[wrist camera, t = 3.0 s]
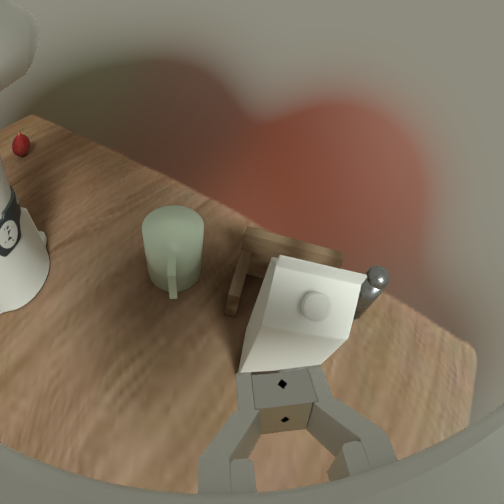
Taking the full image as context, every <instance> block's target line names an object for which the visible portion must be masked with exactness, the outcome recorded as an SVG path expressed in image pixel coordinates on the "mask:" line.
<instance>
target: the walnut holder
mask: <svg viewBox="0 0 504 504" xmlns="http://www.w3.org/2000/svg"><path fill="white" fill-rule="evenodd" d="M280 255H284V256H288V257H292V258H296V259H301V260H305V261H309V262H314V263H318V264H322V265H326V266H331V267H335V268H339V269H340V267H341V265H342V264H343V262H344V253H342V252H339V251H335V250H332V249H328V248H325V247H321V246H317V245H313V244H310V243H307V242H303V241H299V240H296V239H292V238H288V237H285V236H281V235H277V234H273V233H270V232H266V231H262V230H258V229H254V228H251V227H247V229H246V232H245V235H244V240H243V244H242V249H241V252H240V256H239V259H238V262H237V266H236V269H235V272H234V276H233V279H232V283H231V286H230V289H229V293H228V297H227V302H226V307H225V312H224V314H226V315H230V316H234V317H235V315H236V311H237V307H238V303H239V300H240V296H241V292H242V288H243V284H244V280H245V277H246V274H248V275H252V276H256V277H260V278H265V275H266V272H267V269H268V266H269V263H270V261H271V257H274V258H279V256H280Z"/></svg>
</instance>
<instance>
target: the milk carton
mask: <svg viewBox="0 0 504 504" xmlns="http://www.w3.org/2000/svg"><path fill="white" fill-rule="evenodd" d="M366 278H367V275H365V274H360V273H356V272H352V271H348V270H344V269H339V268H335V267H331V266H326V265H322V264H318V263H314V262H309V261H305V260H301V259H296V258H292V257H288V256H284V255H280V256H279V258H274V257H271V261H270V263H269V266H268V269H267V272H266V275H265V278H264V280H263V283H262V286H261V289H260V292H259V295H258V297H257V300H256V303H255V306H254V309H253V311H252V314H251V317H250V320H249V322H248V325H247V328H246V332H245V337H244V343H243V348H242V354H241V359H240V365H239V370H238V373H244V372H250V373H251V372H261V371H275V370H281V369H289V368H297V367H304V366H305V367H306V366H313V365H319V364H321V363H323V362H324V361H325V360H326V359H327V358H328V357H329V356H330V355H331V354H332V353H333V352H334V351H336V350H337V349H338V348H339V347H340V346H341V345H342V344H343V343H344V342H345V341H346V340H347V339H348V337H349V333H350V329H351V326H352V322H353V318H354V314H355V310H356V306H357V302H358V297H359V293H360V289H361V285H362V283H363V282H364V281H365V279H366Z"/></svg>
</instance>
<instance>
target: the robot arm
mask: <svg viewBox="0 0 504 504" xmlns="http://www.w3.org/2000/svg"><path fill="white" fill-rule="evenodd" d="M39 40H40V32H39V26H38V23H37V21H36V19H35V17H34V16H33V14H31V12H29V11H28V10H26V9H24V8H22V7H20V6H18V5H16V4H14V3H13V2H12V1H11V0H0V91H1V90H3V89H4V88H6V87H7V86H9V85H10V84H12V83H13V82H15V81H16V80H18V79H19V78H21V77H22V76H24V75H25V74H26V72H27V71H28V70H29V68H30V66H31V65H32V63H33V61H34V59H35V56H36V53H37V50H38V45H39ZM46 242H47V237H46V235H45V233H44V232H42V231H38V230H37V228H36V226H35V224H34V222H33V220H32V218H31V216H30V214H29V212H28V211H27V209H26V208H23V207H20V205H19V202H18V198H17V195H16V194H15V192H14V190H13V188H12V187H11V186H10V185H9V183H8V180H7V177H6V174H5V170H4V167H3V164H2V160H1V157H0V314H1V313H3V312H7V311H12V310H15V309H18V308H20V307H22V306H24V305H25V304H27V303H28V302H29V301H30V300H31V299H32V298H33V297H34V296H35V295H36V294H37V293H38V292H39V290H40V289H41V288H42V286H43V284H44V282H45V280H46V278H47V275H48V272H49V265H50V261H49V255H48V253H47V250H46ZM236 388H237V404H238V411H233V413H232V414H231V416H230V417H229V418H228V420H227V421H226V423H225V424H224V425H223V427H222V428H221V429H220V431H219V432H218V434H217V435H216V436H215V438H214V439H213V440H212V442H211V443H210V444H209V446H208V447H207V448H206V450H205V451H204V452H203V453H202V455H201V456H200V457H199V468H198V494H189V493H175V492H164V491H156V490H148V489H141V488H135V487H129V486H124V485H119V484H114V483H110V482H105V481H101V480H97V479H93V478H90V477H86V476H82V475H79V474H76V473H72V472H69V471H66V470H63V469H60V468H58V467H55V466H52V465H49V464H47V463H44V462H42V461H39V460H37V459H34V458H32V457H29V456H27V455H25V454H23V453H21V452H18V451H16V450H14V449H12V448H10V447H8V446H6V445H4V444H2V443H1V442H0V504H504V403H503V404H502V405H501V406H499V407H498V408H496V409H495V410H493V411H492V412H490V413H489V414H487V415H486V416H484V417H483V418H481V419H480V420H478V421H477V422H475V423H473V424H471V425H470V426H468V427H466V428H465V429H463V430H461V431H459V432H458V433H456V434H454V435H452V436H450V437H448V438H447V439H445V440H443V441H441V442H439V443H437V444H435V445H433V446H430V447H428V448H426V449H424V450H422V451H420V452H417V453H415V454H413V455H410V456H408V457H405V458H403V459H400V460H397V458H396V455H395V453H394V450H393V448H392V445H391V443H390V441H389V438H388V436H387V434H386V431H384V430H383V429H381V428H380V427H378V426H377V425H375V424H374V423H372V422H371V421H369V420H368V419H366V418H365V417H363V416H362V415H361V414H359V413H358V412H356V411H355V410H353V409H352V408H350V407H349V406H348V405H346V404H345V403H343V402H342V401H341V400H339V399H338V398H336V399H333V396H332V393H331V391H330V388H329V385H328V382H327V380H326V377H325V374H324V371H323V369H322V366H321V365H320V364H319V365H313V366H306V367H305V366H304V367H297V368H289V369H281V370H275V371H261V372H251V373H250V372H244V373H236ZM300 429H307V431H308V432H310V433H311V434H312V435H313V436H314V437H315V438H316V439H317V440H318V441H319V442H320V443H321V444H322V445H323V446H324V447H325V448H326V449H327V450H328V451H330V452H331V453H332V454H333V455H334V456H335V457H336V458H335V460H334V461H333V463H332V465H331V466H330V468H329V469H328V471H327V473H328V477H329V482H325V483H320V484H315V485H310V486H304V487H299V488H292V489H285V490H278V491H269V492H258V493H257V491H256V483H255V475H254V466H253V461H251V460H250V459H248V457H249V455H250V453H251V451H252V450H253V448H254V446H255V444H256V443H257V441H258V439H259V437H260V434H268V433H276V432H283V431H292V430H300Z"/></svg>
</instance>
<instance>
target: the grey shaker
mask: <svg viewBox="0 0 504 504" xmlns="http://www.w3.org/2000/svg"><path fill="white" fill-rule="evenodd" d="M365 275H367V278H366V279H365V281H364V282H363V283H362V285H361V289H360V293H359V297H358V302H357V306H356V310H355V314H354V318H353V319H358V318H359V317H360V316H361V315H362V314H363V313H364V312H365V311H366V310H367V309H368V308H369V306H370V305H371V304H372V303H373V302H374V301H375V300H376V298H377V297H378V296H379V295H380V294H381V293H382V291H383V290H384V289H385V288H386V286H387V285H388V283H389V274H388V272H387V271H386V269H384V268H383V267H381V266H373V267H371V268H369V269H368V270H367V272H366V273H365Z"/></svg>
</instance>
